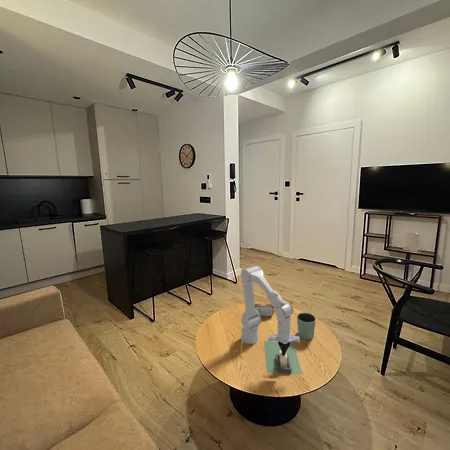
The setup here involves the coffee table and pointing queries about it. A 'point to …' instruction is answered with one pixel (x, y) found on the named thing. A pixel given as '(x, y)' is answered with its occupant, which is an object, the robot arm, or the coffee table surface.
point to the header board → (273, 359)
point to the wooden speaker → (265, 309)
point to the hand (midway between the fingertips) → (283, 354)
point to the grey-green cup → (306, 325)
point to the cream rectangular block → (282, 360)
